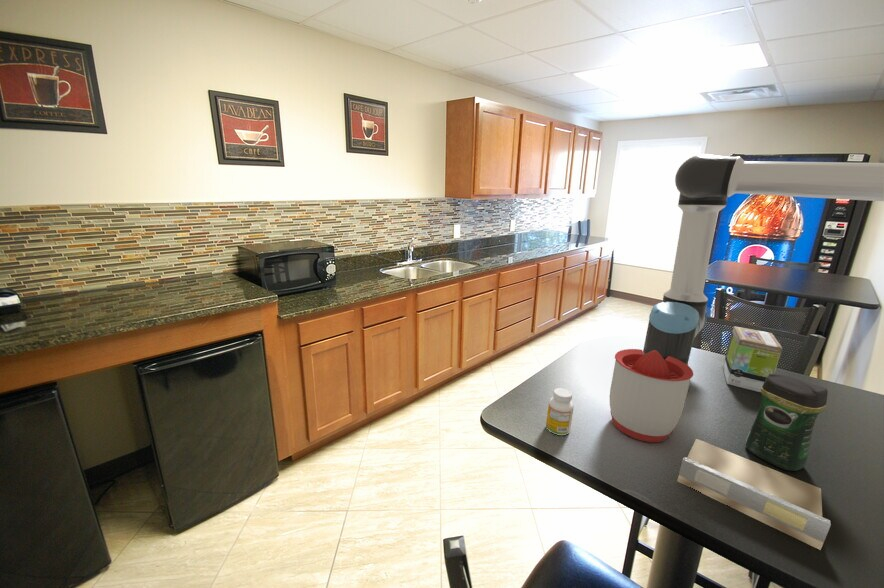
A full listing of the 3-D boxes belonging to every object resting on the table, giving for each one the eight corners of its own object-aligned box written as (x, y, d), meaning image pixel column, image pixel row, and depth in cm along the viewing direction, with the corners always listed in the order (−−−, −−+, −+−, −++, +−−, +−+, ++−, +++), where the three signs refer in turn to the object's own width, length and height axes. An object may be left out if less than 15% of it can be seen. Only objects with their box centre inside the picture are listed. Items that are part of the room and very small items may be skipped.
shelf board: (677, 481, 72) (678, 474, 72) (694, 444, 83) (696, 438, 83) (820, 550, 59) (823, 542, 58) (818, 495, 70) (821, 488, 70)
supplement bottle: (553, 419, 90) (558, 383, 88) (573, 430, 87) (579, 392, 84) (541, 428, 86) (546, 391, 84) (562, 440, 83) (568, 401, 80)
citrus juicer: (678, 420, 92) (696, 345, 87) (675, 459, 78) (697, 373, 73) (610, 399, 100) (623, 330, 95) (597, 432, 86) (611, 352, 81)
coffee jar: (810, 466, 78) (839, 387, 73) (791, 477, 75) (820, 394, 70) (757, 438, 86) (779, 366, 81) (737, 447, 83) (759, 371, 78)
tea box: (769, 395, 106) (784, 347, 102) (726, 384, 111) (738, 338, 108) (760, 374, 119) (772, 331, 115) (721, 366, 124) (732, 324, 120)
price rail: (678, 475, 71) (682, 460, 70) (680, 471, 73) (684, 456, 72) (823, 544, 58) (830, 526, 57) (823, 538, 59) (830, 520, 58)
